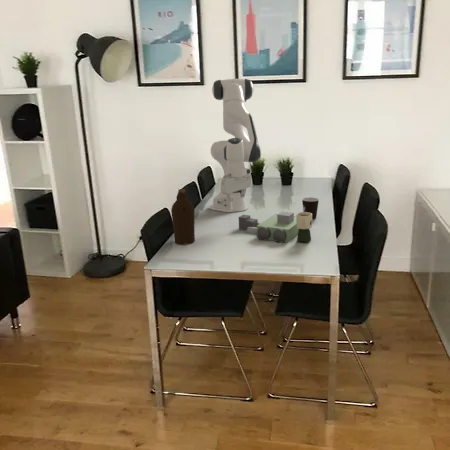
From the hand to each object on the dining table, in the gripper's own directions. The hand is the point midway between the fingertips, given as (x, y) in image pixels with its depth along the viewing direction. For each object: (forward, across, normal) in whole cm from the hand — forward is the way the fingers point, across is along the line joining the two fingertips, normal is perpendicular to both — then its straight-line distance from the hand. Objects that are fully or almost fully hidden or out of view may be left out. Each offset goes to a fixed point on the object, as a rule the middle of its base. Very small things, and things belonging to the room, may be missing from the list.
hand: (236, 199), depth 256 cm
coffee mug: (+15, +36, -21) cm, 44 cm away
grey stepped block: (+15, 0, -7) cm, 16 cm away
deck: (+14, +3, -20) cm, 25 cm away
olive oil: (+14, -32, +6) cm, 36 cm away
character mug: (+14, 0, -40) cm, 42 cm away
